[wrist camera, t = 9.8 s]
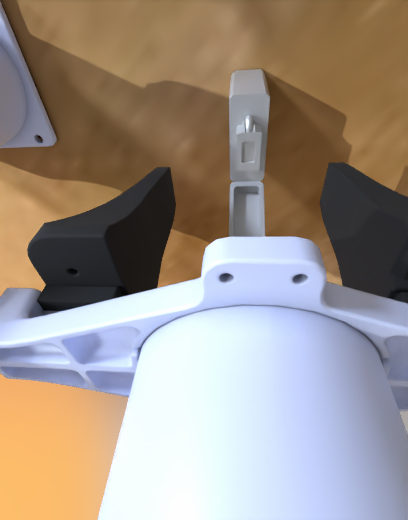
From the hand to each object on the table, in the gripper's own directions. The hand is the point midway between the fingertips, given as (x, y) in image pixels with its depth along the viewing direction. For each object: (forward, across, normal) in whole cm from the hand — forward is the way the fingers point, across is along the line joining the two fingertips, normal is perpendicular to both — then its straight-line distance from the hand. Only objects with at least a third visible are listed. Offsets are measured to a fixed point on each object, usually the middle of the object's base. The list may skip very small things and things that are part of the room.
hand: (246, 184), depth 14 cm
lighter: (+6, 0, 0) cm, 6 cm away
